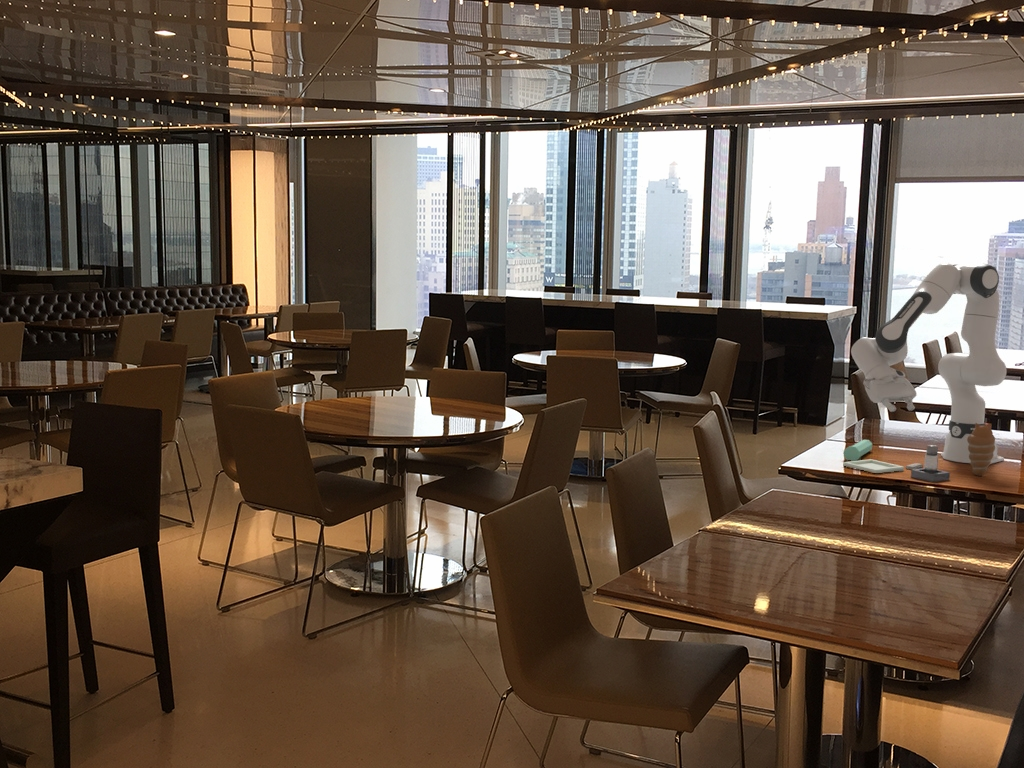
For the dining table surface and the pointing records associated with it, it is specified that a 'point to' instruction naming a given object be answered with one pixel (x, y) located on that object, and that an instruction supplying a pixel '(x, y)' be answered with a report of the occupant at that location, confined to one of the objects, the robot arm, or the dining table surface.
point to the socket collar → (930, 475)
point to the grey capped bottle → (931, 459)
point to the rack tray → (873, 466)
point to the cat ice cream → (981, 448)
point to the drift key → (914, 466)
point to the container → (857, 450)
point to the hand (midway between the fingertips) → (903, 410)
